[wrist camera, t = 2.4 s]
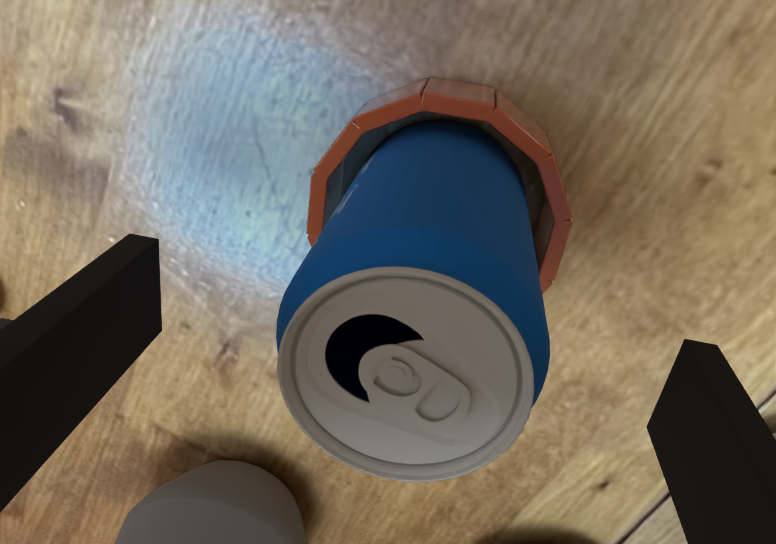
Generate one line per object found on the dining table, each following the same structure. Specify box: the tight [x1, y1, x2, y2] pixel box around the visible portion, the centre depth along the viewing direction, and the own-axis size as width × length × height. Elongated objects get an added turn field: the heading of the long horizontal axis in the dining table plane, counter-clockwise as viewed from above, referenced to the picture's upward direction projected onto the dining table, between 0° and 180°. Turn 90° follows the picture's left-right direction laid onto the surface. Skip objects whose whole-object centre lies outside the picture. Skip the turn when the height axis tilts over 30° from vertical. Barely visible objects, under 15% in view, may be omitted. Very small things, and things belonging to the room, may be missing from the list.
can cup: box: [306, 77, 572, 293], centre depth 23 cm, size 9×9×3 cm
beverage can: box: [276, 121, 550, 482], centre depth 19 cm, size 6×6×12 cm
